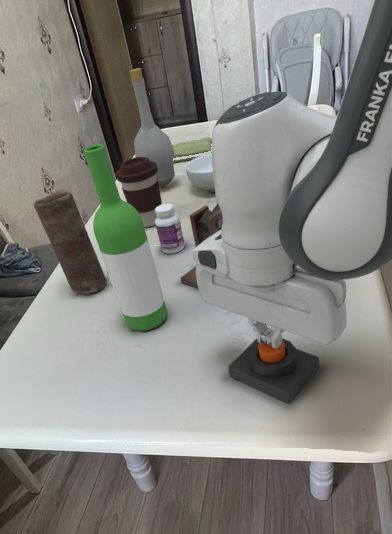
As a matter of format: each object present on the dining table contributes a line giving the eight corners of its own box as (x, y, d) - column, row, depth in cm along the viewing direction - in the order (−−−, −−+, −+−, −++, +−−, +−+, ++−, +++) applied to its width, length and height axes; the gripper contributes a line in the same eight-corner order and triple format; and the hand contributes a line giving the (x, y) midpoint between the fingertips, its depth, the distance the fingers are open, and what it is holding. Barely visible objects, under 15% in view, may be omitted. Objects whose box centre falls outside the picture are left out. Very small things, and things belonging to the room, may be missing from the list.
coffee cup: (163, 229, 107) (148, 167, 98) (125, 232, 110) (107, 171, 100) (172, 211, 114) (159, 151, 105) (137, 214, 117) (121, 156, 107)
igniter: (290, 351, 61) (289, 341, 60) (276, 366, 60) (275, 357, 59) (268, 343, 64) (267, 333, 62) (254, 357, 62) (253, 348, 61)
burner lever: (243, 175, 86) (237, 160, 84) (258, 177, 84) (252, 161, 81) (201, 232, 82) (193, 218, 80) (215, 235, 80) (208, 221, 78)
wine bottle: (153, 337, 75) (97, 157, 56) (118, 328, 79) (54, 157, 60) (176, 310, 80) (132, 136, 61) (142, 304, 84) (90, 138, 65)
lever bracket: (218, 254, 93) (209, 195, 85) (253, 263, 88) (247, 201, 80) (181, 283, 87) (167, 222, 79) (216, 294, 82) (205, 231, 74)
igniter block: (319, 368, 63) (319, 347, 60) (288, 404, 59) (287, 383, 56) (261, 345, 69) (258, 326, 66) (230, 377, 65) (226, 357, 62)
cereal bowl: (251, 170, 126) (248, 145, 122) (250, 194, 114) (247, 166, 109) (193, 179, 130) (188, 154, 125) (186, 202, 117) (181, 176, 113)
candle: (72, 301, 89) (31, 207, 76) (70, 284, 95) (32, 193, 82) (108, 290, 90) (74, 195, 77) (105, 274, 95) (72, 182, 83)
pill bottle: (186, 251, 97) (177, 209, 91) (163, 256, 97) (152, 215, 91) (183, 240, 101) (175, 199, 95) (161, 245, 101) (151, 205, 95)
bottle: (166, 197, 123) (137, 74, 103) (135, 194, 128) (104, 77, 109) (188, 181, 129) (166, 62, 110) (159, 179, 135) (132, 65, 116)
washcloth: (164, 153, 154) (162, 143, 152) (214, 145, 151) (213, 135, 149) (159, 166, 144) (156, 156, 142) (212, 157, 141) (210, 147, 139)
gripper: (360, 259, 47) (353, 355, 56) (213, 227, 59) (226, 310, 68) (331, 289, 44) (328, 385, 53) (181, 249, 56) (200, 333, 64)
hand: (270, 343), depth 60 cm, fingers closed
